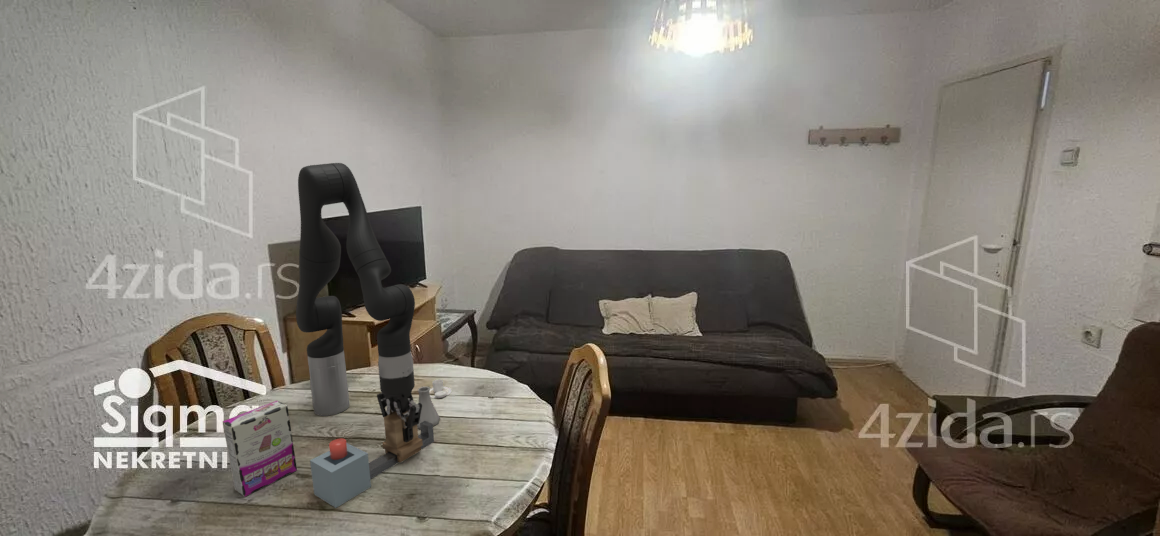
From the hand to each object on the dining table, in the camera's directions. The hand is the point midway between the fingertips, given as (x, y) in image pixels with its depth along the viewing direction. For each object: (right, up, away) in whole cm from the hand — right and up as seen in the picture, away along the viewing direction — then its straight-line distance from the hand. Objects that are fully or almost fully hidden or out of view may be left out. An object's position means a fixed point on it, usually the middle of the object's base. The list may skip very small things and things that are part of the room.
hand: (402, 437), depth 114 cm
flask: (+1, -2, +16) cm, 17 cm away
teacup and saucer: (-3, +1, +33) cm, 33 cm away
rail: (-1, -5, -1) cm, 5 cm away
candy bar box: (-27, -7, -8) cm, 29 cm away
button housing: (-8, -7, -12) cm, 16 cm away
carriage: (0, -5, +1) cm, 5 cm away
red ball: (-8, +1, -13) cm, 16 cm away
